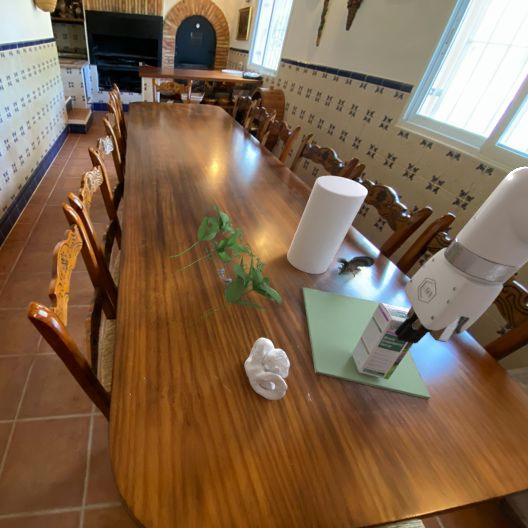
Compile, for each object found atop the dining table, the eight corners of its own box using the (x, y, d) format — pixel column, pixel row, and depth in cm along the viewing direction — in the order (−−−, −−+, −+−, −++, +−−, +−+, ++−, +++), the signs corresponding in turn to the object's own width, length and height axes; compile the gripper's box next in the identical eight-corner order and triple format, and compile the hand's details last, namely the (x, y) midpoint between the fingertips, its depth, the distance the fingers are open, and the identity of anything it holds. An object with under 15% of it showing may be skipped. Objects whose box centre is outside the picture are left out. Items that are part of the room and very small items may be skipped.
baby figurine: (252, 342, 67) (284, 328, 62) (275, 397, 62) (311, 387, 57) (229, 346, 61) (262, 331, 56) (252, 408, 56) (291, 397, 51)
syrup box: (358, 373, 61) (392, 319, 53) (350, 352, 66) (380, 300, 58) (388, 380, 60) (426, 327, 53) (377, 358, 65) (411, 307, 58)
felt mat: (386, 305, 79) (388, 303, 78) (428, 399, 59) (430, 397, 59) (302, 289, 82) (303, 287, 81) (315, 373, 62) (316, 371, 61)
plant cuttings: (216, 367, 69) (304, 321, 64) (177, 337, 58) (279, 279, 53) (183, 269, 95) (243, 231, 90) (152, 236, 84) (218, 191, 79)
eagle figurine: (357, 284, 83) (378, 270, 86) (352, 261, 81) (373, 248, 84) (333, 279, 90) (353, 267, 93) (328, 258, 89) (349, 246, 91)
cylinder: (291, 244, 98) (320, 171, 82) (331, 257, 94) (369, 183, 78) (282, 263, 90) (312, 187, 74) (325, 279, 86) (366, 201, 70)
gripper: (427, 226, 47) (371, 304, 59) (479, 290, 36) (397, 370, 48) (478, 235, 47) (411, 311, 58) (549, 303, 35) (447, 381, 47)
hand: (405, 338), depth 53 cm, fingers closed
